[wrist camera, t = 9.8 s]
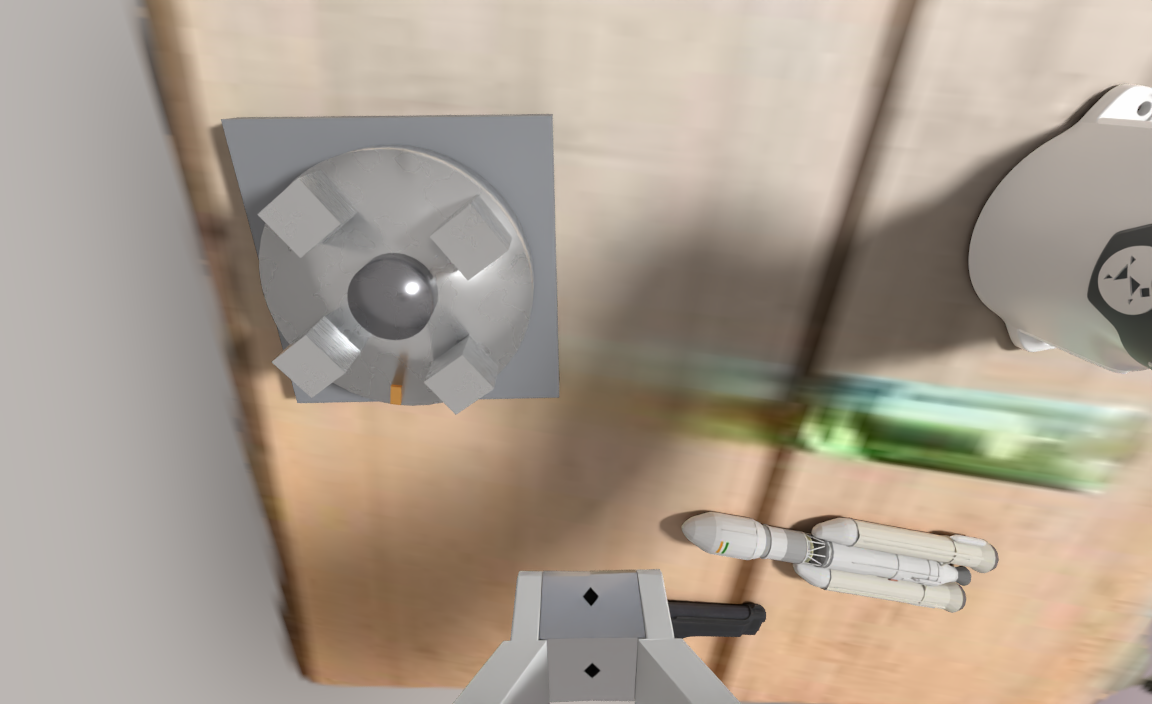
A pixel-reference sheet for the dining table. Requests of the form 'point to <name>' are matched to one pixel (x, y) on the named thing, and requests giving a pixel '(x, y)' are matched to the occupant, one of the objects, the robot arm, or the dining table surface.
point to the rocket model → (855, 556)
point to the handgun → (715, 619)
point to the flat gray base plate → (482, 142)
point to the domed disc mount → (396, 277)
